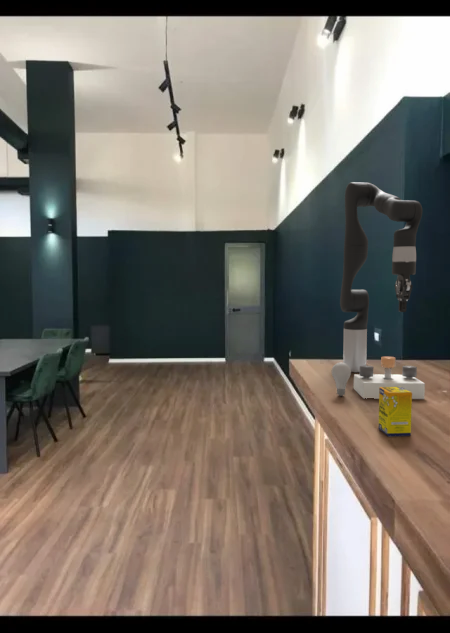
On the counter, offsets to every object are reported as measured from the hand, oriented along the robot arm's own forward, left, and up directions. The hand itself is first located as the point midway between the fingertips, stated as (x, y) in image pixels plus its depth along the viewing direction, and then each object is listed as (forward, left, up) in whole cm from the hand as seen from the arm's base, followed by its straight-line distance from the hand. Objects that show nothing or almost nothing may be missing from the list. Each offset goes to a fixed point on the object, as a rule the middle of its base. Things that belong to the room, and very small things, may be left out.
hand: (402, 311), depth 166 cm
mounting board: (+7, -6, -27) cm, 28 cm away
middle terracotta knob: (+7, -6, -23) cm, 25 cm away
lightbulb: (+11, -22, -27) cm, 37 cm away
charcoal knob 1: (+7, -13, -26) cm, 30 cm away
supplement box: (+48, -16, -27) cm, 58 cm away
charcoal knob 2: (+7, 0, -26) cm, 27 cm away
